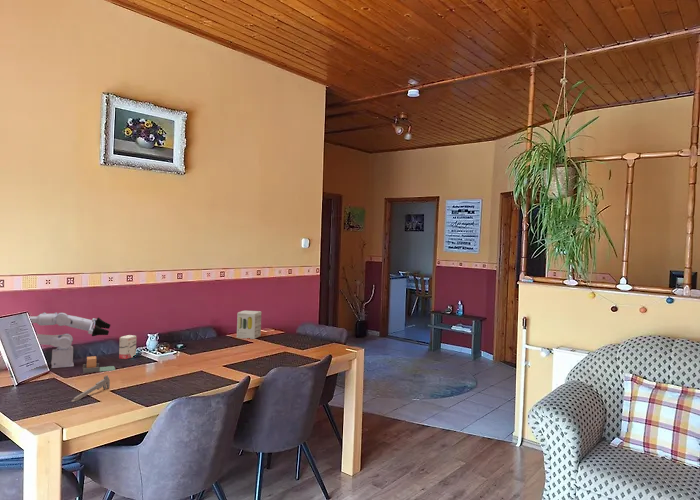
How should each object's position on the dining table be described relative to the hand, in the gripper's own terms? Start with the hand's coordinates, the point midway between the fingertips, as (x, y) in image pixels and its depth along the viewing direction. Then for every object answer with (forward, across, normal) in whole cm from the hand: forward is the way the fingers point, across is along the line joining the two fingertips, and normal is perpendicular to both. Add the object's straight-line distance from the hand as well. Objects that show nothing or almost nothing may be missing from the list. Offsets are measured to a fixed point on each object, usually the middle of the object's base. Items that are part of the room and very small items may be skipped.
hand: (109, 329), depth 257 cm
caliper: (-1, -58, +2) cm, 58 cm away
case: (-2, -16, +15) cm, 22 cm away
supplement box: (+89, +52, +8) cm, 103 cm away
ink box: (+14, +6, +17) cm, 22 cm away
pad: (+4, -18, +12) cm, 22 cm away
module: (-2, -19, +14) cm, 23 cm away
